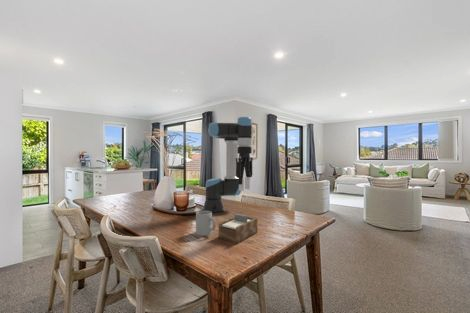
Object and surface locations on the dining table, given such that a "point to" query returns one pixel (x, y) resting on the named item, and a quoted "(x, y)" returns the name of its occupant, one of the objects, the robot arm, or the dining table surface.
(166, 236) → the dining table surface
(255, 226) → the box
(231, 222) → the lid
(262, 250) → the dining table surface
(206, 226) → the mug
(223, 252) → the dining table surface
